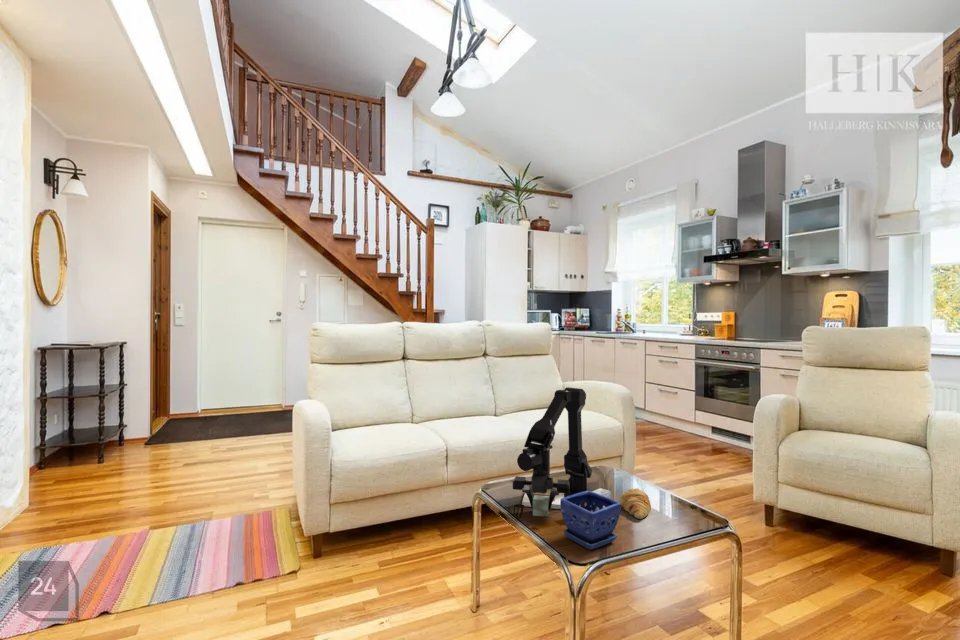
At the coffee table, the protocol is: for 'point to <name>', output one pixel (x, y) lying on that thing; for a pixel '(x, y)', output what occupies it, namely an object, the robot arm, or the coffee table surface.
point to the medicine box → (602, 492)
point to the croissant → (636, 503)
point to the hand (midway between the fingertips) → (541, 510)
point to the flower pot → (590, 518)
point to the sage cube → (540, 505)
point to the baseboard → (554, 504)
